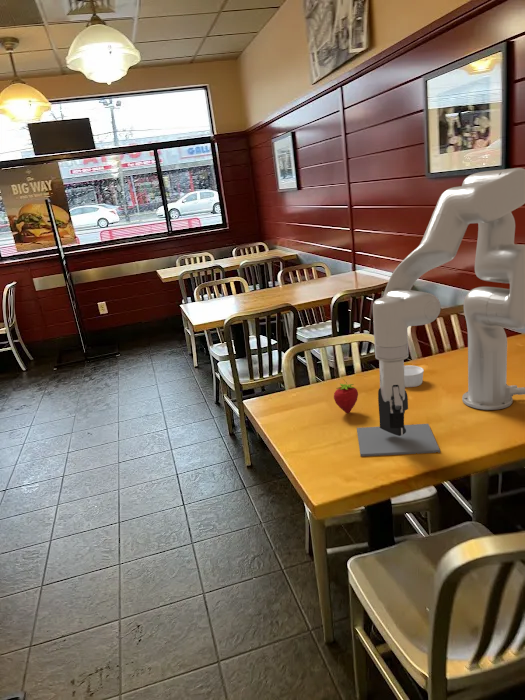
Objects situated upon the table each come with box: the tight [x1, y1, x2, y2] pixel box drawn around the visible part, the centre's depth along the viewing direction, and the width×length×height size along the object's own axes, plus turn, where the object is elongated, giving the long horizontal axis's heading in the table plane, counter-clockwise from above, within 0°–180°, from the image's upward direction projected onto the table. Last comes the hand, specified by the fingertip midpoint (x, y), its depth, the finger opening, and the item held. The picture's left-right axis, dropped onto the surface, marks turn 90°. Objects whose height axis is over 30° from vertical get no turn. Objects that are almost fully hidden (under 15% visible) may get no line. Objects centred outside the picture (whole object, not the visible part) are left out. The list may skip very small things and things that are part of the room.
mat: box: [356, 423, 441, 457], centre depth 127 cm, size 18×14×1 cm
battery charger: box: [377, 387, 409, 436], centre depth 125 cm, size 7×4×11 cm, turn 34°
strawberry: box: [333, 379, 359, 414], centre depth 144 cm, size 6×8×10 cm
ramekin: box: [404, 364, 425, 388], centre depth 161 cm, size 9×9×4 cm
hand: (394, 420), depth 126 cm, fingers closed on battery charger, 6 cm apart
